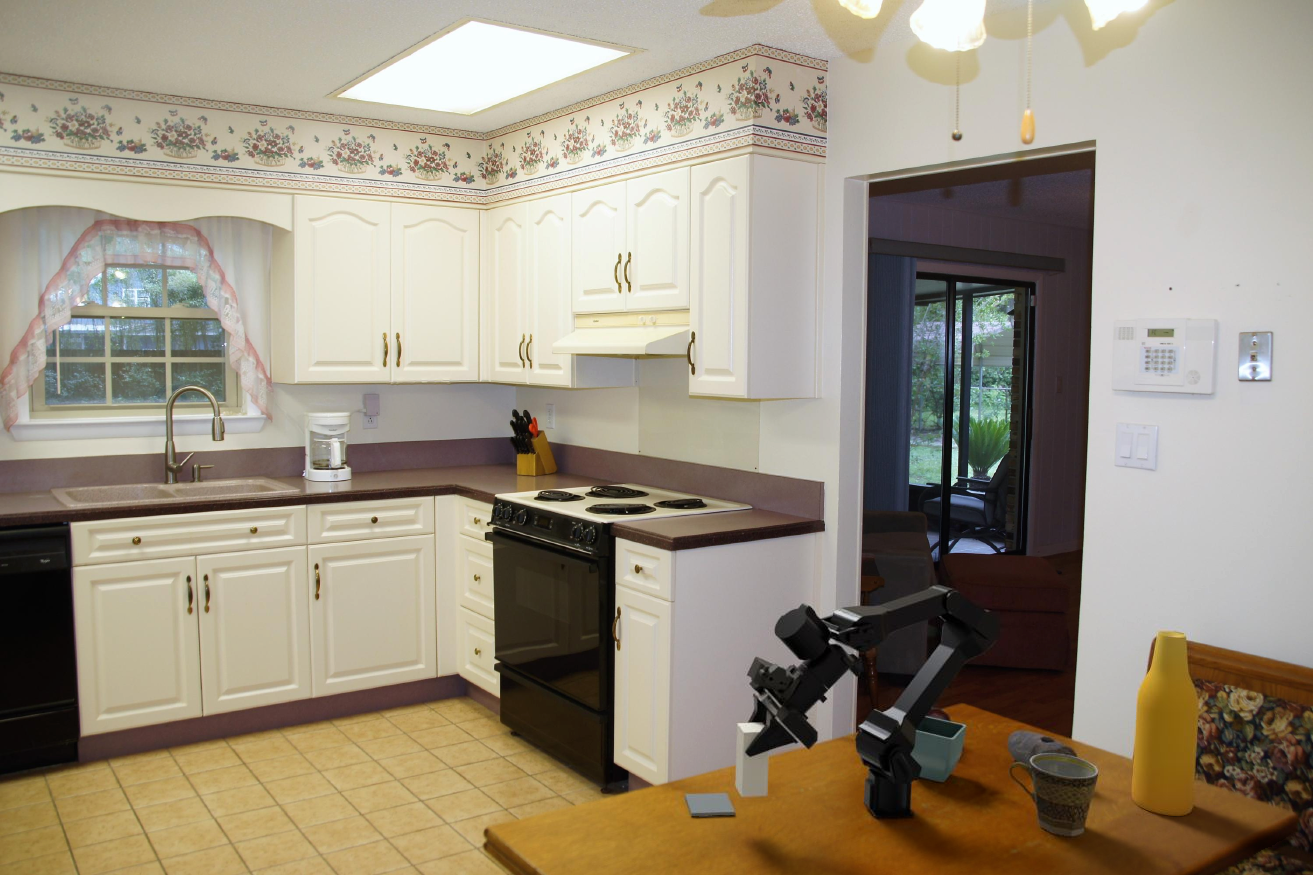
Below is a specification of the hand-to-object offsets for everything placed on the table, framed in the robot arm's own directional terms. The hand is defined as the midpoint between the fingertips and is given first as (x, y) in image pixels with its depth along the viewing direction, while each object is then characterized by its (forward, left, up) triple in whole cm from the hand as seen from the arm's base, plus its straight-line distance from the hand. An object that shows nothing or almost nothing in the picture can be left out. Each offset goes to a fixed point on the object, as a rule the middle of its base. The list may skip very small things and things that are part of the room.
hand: (743, 749), depth 151 cm
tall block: (-1, 0, -7) cm, 7 cm away
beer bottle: (-72, -4, -13) cm, 74 cm away
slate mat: (+4, -8, -12) cm, 15 cm away
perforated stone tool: (-58, -19, -13) cm, 63 cm away
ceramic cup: (-49, +2, -13) cm, 51 cm away
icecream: (-45, -34, -13) cm, 58 cm away
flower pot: (-38, -18, -13) cm, 44 cm away
